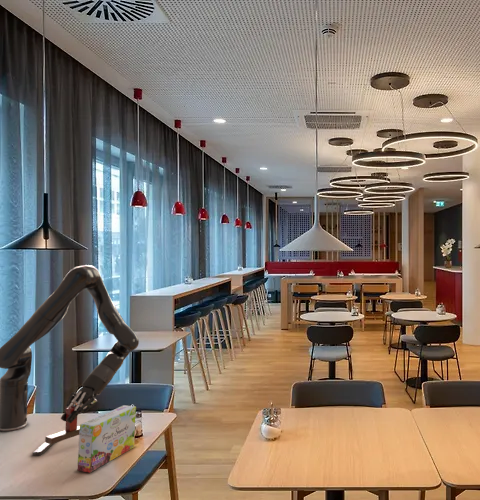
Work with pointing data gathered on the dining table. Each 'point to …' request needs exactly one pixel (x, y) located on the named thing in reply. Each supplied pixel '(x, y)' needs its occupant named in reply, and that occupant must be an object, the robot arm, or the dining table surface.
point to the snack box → (106, 438)
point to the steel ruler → (41, 449)
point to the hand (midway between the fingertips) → (65, 420)
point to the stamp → (68, 433)
